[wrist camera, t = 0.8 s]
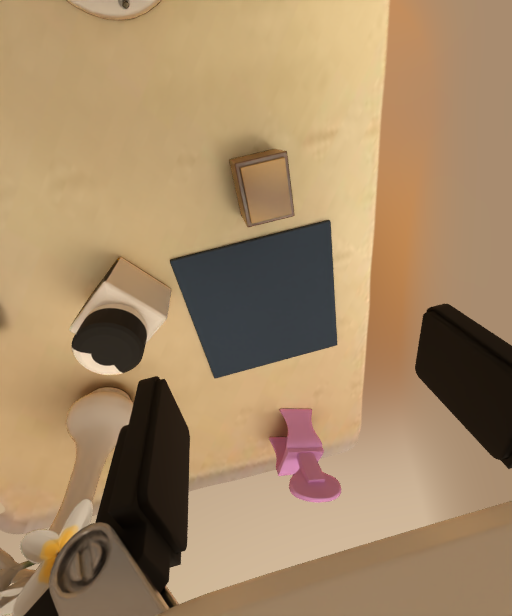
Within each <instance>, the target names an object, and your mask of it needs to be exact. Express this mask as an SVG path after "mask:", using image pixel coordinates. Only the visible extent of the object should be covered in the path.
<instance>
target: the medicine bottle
mask: <svg viewBox="0 0 512 616" xmlns="http://www.w3.org/2000/svg"><path fill="white" fill-rule="evenodd" d="M170 296H171V289H170V288H169V287H167V286H166V285H164V284H163V283H161V282H159V281H158V280H156V279H155V278H153V277H152V276H150V275H148V274H147V273H145V272H144V271H142V270H141V269H139V268H137V267H136V266H134V265H133V264H131V263H130V262H128V261H127V260H125V259H123V258H121V257H119V258H118V259H117V260H116V261H115V263H114V264H113V265H112V267H111V268H110V270H109V271H108V272H107V274H106V275H105V276H104V278H103V279H102V281H101V282H100V283H99V285H98V286H97V287H96V289H95V290H94V292H93V293H92V294H91V296H90V297H89V298H88V300H87V302H86V303H85V305H84V306H83V308H82V309H81V311H80V312H79V314H78V315H77V317H76V318H75V320H74V322H73V323H72V325H71V326H70V328H69V330H70V331H71V332H72V333H74V334H75V336H74V338H73V341H72V351H73V354H74V356H75V358H76V359H77V360H78V362H79V363H80V364H81V365H82V366H84V367H85V368H87V369H88V370H90V371H93V372H95V373H99V374H104V375H116V374H121V373H125V372H127V371H130V370H131V369H133V368H134V367H136V366H137V365H138V364H139V362H140V361H141V359H142V356H143V353H144V348H145V344H146V343H147V342H148V340H149V339H150V338H151V337H152V336H153V335H154V333H155V332H156V331H157V330H158V329H159V328H160V326H161V325H162V324H163V323H164V322H165V321H166V319H167V315H168V309H169V302H170Z"/></svg>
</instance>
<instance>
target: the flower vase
mask: <svg viewBox="0 0 512 616" xmlns="http://www.w3.org/2000/svg"><path fill="white" fill-rule="evenodd" d="M133 404H134V403H133V402H132V401H131V399H130V397H129V395H128V394H127V393H126V392H124V391H122V390H120V389H117V388H113V387H104V388H99V389H97V390H94V391H93V392H92V393H90V394H88V395H85V396H83V397H81V398H80V399H79V400H77V401H76V402H75V403H74V404H73V405H72V406H71V408H70V409H69V411H68V414H67V419H66V426H67V431H68V433H69V435H70V437H71V438H72V439H73V441H74V442H75V443H76V460H75V464H74V468H73V471H72V475H71V478H70V481H69V484H68V487H67V490H66V493H65V496H64V499H63V502H62V504H61V507H60V509H59V511H58V513H57V515H56V517H55V519H54V521H53V523H52V525H51V527H50V529H49V530H47V529H37V530H34V531H31V532H29V533H28V534H26V535H25V536H24V538H23V539H22V541H21V544H20V550H21V553H22V554H23V555H24V557H25V558H26V559H27V560H28V561H26V562H23V563H20V564H18V563H17V562H15V561H14V559H13V558H12V557H11V556H10V555H9V554H8V553H6V552H5V551H3V550H2V549H1V548H0V616H4V615H10V614H13V616H24V615H25V614H26V613H27V611H28V610H29V609H30V608H31V607H32V606H33V605H34V604H35V603H36V601H37V600H38V599H39V598H40V597H41V596H42V595H43V594H44V593H45V591H46V590H47V589H48V588H49V578H50V572H51V569H52V566H53V564H54V561H55V559H56V557H57V556H58V554H59V552H60V551H61V549H62V547H63V546H64V545H65V544H66V543H67V542H68V540H69V539H70V538H71V537H72V536H73V535H74V534H76V533H77V532H78V531H79V530H81V529H82V528H84V527H86V526H88V525H89V524H90V521H91V517H92V513H93V505H92V500H93V497H94V494H95V490H96V487H97V484H98V481H99V478H100V475H101V472H102V469H103V466H104V464H105V462H106V459H107V458H108V456H109V454H110V453H111V451H112V450H113V449H114V448H115V447H116V443H117V440H118V436H119V433H120V430H121V428H122V427H123V426H125V425H129V421H130V416H131V412H132V408H133ZM39 563H41V564H40V565H39V567H38V568H37V569H36V570H28V569H26V568H27V567H29V566H32V565H34V564H39ZM11 583H14V584H12V585H11V586H9V585H10V584H11Z"/></svg>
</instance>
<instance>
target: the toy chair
mask: <svg viewBox="0 0 512 616" xmlns="http://www.w3.org/2000/svg"><path fill="white" fill-rule="evenodd" d="M280 412H281V414H282V415H283V417H284V419H285V421H286V423H287V427H288V436H287V437H270V438H269V440H270V442H271V443H272V445H273V448H274V450H275V453H276V457H277V463H276V470H277V472H278V476H283V475H291V474H294V475H293V476H292V478H291V479H290V484H289V489H290V492H291V493H292V494H293V495H294V496H295V497H297V498H299V499H302V500H305V501H310V502H328V501H332V500H334V499H336V498H337V497H339V496H340V494H341V486H340V483H339V482H338V480H337V479H336V478H334V477H333V476H330V475H328V474H326V473H324V472H322V471H321V468H320V466H319V464H318V460H319V459H320V458H321V456H322V454H323V452H324V450H323V448H322V443H321V441H320V439H319V437H318V436H317V434H316V433H315V431H314V429H313V427H312V422H311V415H312V409H280Z"/></svg>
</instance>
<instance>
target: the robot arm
mask: <svg viewBox="0 0 512 616" xmlns="http://www.w3.org/2000/svg"><path fill="white" fill-rule="evenodd" d="M67 1H68V2H69V3H71V4H72V5H74V6H76V7H78V8H79V9H81V10H83V11H85V12H87V13H89V14H92V15H95V16H98V17H101V18H105V19H114V20H124V19H131V18H135V17H137V16H140V15H142V14H144V13H147V12H148V11H149V10H151V9H152V8H153V7H154V6H156V5H157V4H158V3H159V2H160V1H161V0H67ZM124 1H126V2H128V3H129V7H128V8H127V9H126V8H124V7H123V2H124ZM415 370H416V373H417V375H418V377H419V378H420V379H421V380H422V381H423V382H424V383H425V384H426V385H427V387H428V388H429V389H430V390H431V391H432V392H433V393H434V394H435V395H436V396H437V397H438V398H439V399H440V401H441V402H442V403H443V404H444V405H445V406H446V407H447V408H448V409H449V410H450V411H451V412H452V414H453V415H454V416H455V417H456V418H457V419H458V420H459V421H460V422H461V423H462V424H463V425H464V426H465V428H466V429H467V430H468V431H469V432H470V433H471V434H472V435H473V436H474V437H475V438H476V439H477V440H478V442H479V443H480V444H481V445H482V446H483V447H484V448H485V449H486V450H487V451H488V452H489V453H490V454H491V455H492V456H493V457H494V458H496V459H498V460H501V461H502V462H503V463H504V464H505V465H506V466H507V468H508V469H510V468H512V346H511V345H510V344H508V343H507V342H505V341H504V340H502V339H501V338H499V337H498V336H496V335H494V334H493V333H491V332H490V331H488V330H487V329H485V328H484V327H482V326H481V325H479V324H478V323H476V322H475V321H473V320H472V319H470V318H469V317H467V316H466V315H464V314H463V313H461V312H460V311H458V310H457V309H455V308H454V307H452V306H451V305H449V304H442V305H438V306H434V307H430V308H429V309H428V310H427V312H426V313H425V314H424V315H423V320H422V327H421V334H420V339H419V346H418V353H417V359H416V365H415ZM189 448H190V435H189V430H188V427H187V425H186V423H185V420H184V418H183V416H182V414H181V412H180V410H179V408H178V406H177V403H176V401H175V399H174V397H173V395H172V393H171V391H170V389H169V387H168V384H167V382H166V380H165V379H162V380H160V379H159V377H158V376H156V377H152V378H148V379H144V380H140V381H139V383H138V387H137V391H136V396H135V400H134V404H133V408H132V412H131V416H130V421H129V425H125V426H123V427H122V428H121V430H120V433H119V436H118V440H117V443H116V447H115V451H114V455H113V458H112V462H111V466H110V470H109V474H108V477H107V481H106V485H105V489H104V492H103V496H102V500H101V504H100V508H99V511H98V515H97V519H96V523H93V524H90V525H88V526H86V527H84V528H82V529H81V530H79V531H78V532H77V533H76V534H74V535H73V536H72V537H71V538H70V539H69V540H68V542H67V543H66V544H65V545H64V546H63V547H62V549H61V551H60V552H59V554H58V556H57V557H56V559H55V561H54V564H53V566H52V569H51V572H50V578H49V588H48V589H47V590H46V591H45V593H44V594H43V595H42V596H41V597H40V598H39V599H38V600H37V601H36V603H35V604H34V605H33V606H32V607H31V608H30V609H29V610H28V611H27V613H26V614H25V615H24V616H512V501H509V502H506V503H503V504H499V505H496V506H492V507H489V508H485V509H482V510H479V511H475V512H472V513H468V514H465V515H462V516H458V517H455V518H452V519H448V520H445V521H441V522H438V523H435V524H431V525H428V526H425V527H421V528H418V529H415V530H411V531H408V532H405V533H401V534H398V535H395V536H391V537H388V538H384V539H381V540H378V541H374V542H371V543H368V544H365V545H361V546H358V547H354V548H351V549H348V550H344V551H342V552H338V553H335V554H332V555H328V556H325V557H321V558H318V559H315V560H312V561H308V562H305V563H302V564H298V565H295V566H292V567H289V568H285V569H282V570H279V571H275V572H272V573H269V574H266V575H263V576H259V577H256V578H253V579H250V580H247V581H244V582H241V583H238V584H235V585H232V586H229V587H226V588H223V589H220V590H217V591H214V592H211V593H207V594H205V595H202V596H200V597H197V598H194V599H192V600H189V601H187V602H184V603H182V604H178V602H177V601H176V599H175V598H174V597H173V595H172V594H171V592H170V591H169V589H168V588H167V587H166V584H167V583H168V581H169V568H170V567H173V566H177V565H180V564H181V552H182V551H185V550H186V547H187V527H188V488H189Z"/></svg>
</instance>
